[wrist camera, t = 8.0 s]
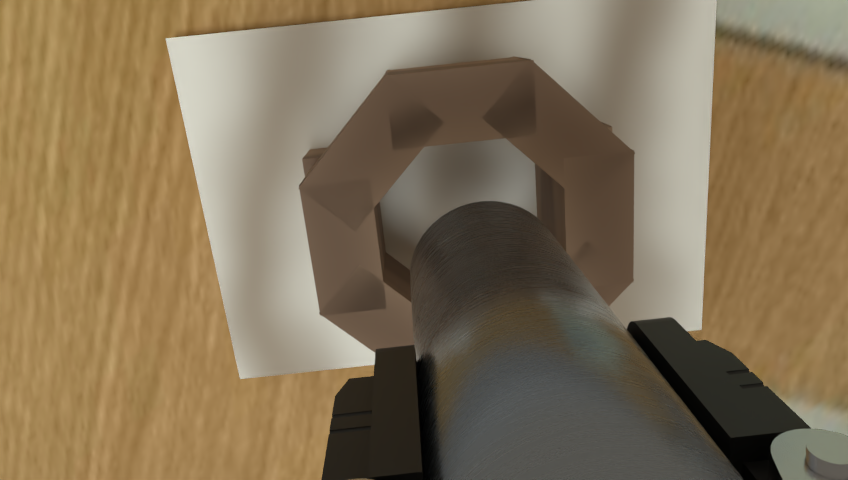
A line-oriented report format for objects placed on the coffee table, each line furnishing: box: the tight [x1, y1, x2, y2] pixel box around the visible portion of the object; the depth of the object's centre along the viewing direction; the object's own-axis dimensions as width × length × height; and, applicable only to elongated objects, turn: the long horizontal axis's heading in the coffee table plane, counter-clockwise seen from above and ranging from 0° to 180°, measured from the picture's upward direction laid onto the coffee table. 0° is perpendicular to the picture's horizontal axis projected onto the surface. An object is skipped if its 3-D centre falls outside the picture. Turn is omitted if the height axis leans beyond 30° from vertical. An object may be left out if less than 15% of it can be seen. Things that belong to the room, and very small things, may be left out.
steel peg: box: [410, 201, 744, 480], centre depth 10 cm, size 4×4×13 cm
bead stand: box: [166, 0, 717, 379], centre depth 23 cm, size 20×14×6 cm
